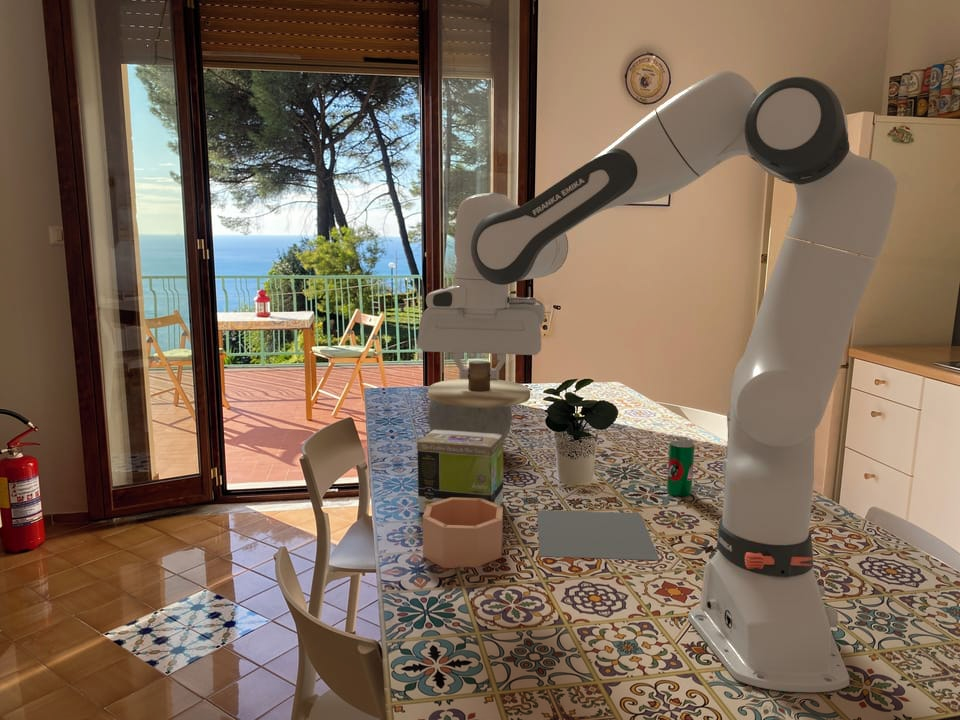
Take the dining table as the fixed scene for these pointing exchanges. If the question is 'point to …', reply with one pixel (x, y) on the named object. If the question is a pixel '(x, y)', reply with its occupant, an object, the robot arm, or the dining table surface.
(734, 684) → the dining table surface
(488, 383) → the lid
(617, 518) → the mat
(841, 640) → the dining table surface
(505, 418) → the bowl
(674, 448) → the soda can
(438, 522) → the pot
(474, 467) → the tea box
